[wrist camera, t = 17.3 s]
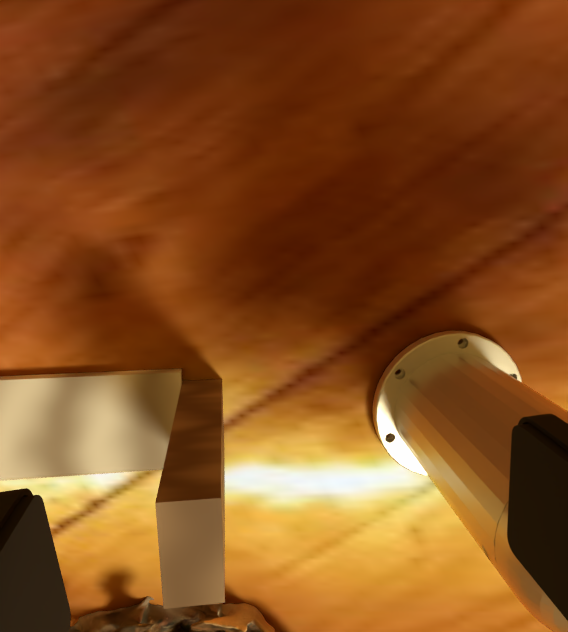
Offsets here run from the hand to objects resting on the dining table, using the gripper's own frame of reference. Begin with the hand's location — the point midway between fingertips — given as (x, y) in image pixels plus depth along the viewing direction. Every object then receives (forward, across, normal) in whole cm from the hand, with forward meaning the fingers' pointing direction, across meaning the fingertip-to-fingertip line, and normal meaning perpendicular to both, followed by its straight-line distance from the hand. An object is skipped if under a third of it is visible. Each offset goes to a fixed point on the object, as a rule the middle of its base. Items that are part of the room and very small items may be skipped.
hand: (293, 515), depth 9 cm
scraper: (+27, +12, +10) cm, 31 cm away
